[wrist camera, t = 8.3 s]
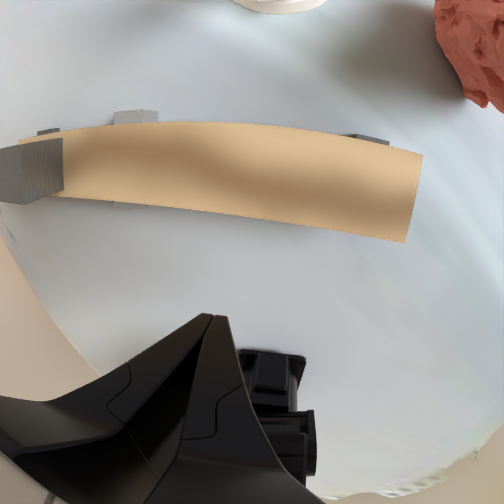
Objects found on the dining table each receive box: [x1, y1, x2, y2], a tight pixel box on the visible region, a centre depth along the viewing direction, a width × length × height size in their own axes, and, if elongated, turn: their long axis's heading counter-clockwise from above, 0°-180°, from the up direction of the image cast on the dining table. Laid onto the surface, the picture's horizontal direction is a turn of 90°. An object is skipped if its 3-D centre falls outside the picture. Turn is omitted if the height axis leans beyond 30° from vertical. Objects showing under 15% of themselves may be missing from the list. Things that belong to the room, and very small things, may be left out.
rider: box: [0, 138, 64, 205], centre depth 15 cm, size 4×7×4 cm, turn 85°
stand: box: [37, 110, 389, 209], centre depth 18 cm, size 7×29×2 cm, turn 85°
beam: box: [19, 122, 423, 243], centre depth 16 cm, size 5×30×2 cm, turn 85°
